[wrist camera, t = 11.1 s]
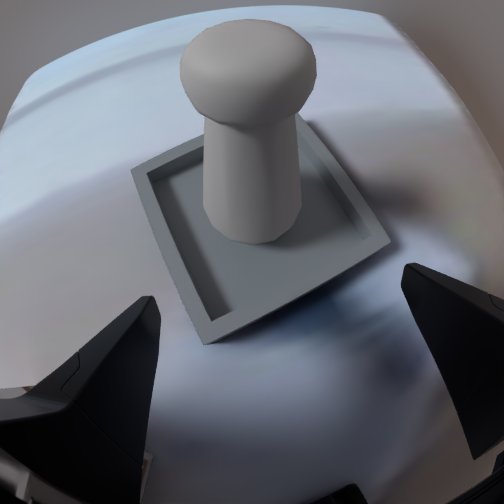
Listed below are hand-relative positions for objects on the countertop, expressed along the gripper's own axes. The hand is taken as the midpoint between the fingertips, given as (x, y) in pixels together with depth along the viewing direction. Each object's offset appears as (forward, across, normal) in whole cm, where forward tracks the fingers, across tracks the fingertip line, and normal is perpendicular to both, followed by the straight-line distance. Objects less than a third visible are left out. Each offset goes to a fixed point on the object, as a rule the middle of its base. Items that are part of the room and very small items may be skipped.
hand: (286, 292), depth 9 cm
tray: (+11, 0, +1) cm, 11 cm away
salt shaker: (+10, 0, +1) cm, 10 cm away
